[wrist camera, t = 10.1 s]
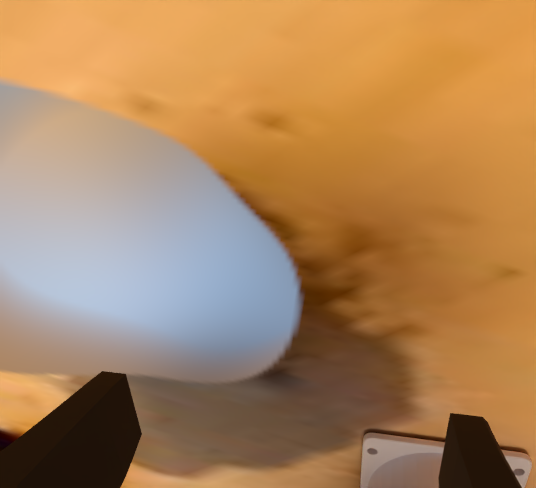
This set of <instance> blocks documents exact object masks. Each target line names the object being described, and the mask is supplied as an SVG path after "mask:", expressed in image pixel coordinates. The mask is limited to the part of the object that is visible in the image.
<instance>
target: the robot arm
mask: <svg viewBox="0 0 536 488" xmlns="http://www.w3.org/2000/svg"><path fill="white" fill-rule="evenodd" d="M141 435H142V433H141V429H140V426H139V422H138V418H137V414H136V411H135V407H134V403H133V399H132V396H131V392H130V388H129V384H128V381H127V377H126V374H121V373H113V372H104V371H102V372H101V373H99V374H98V375H97V376H96V377H94V378H93V379H92V380H90V381H89V382H88V383H87V384H85V385H84V386H83V387H82V388H80V389H79V390H78V391H77V392H76V393H74V394H73V395H72V396H71V397H69V398H68V399H67V400H66V401H65V402H63V403H62V404H61V405H60V406H58V407H57V408H56V409H55V410H53V411H52V412H51V413H50V414H48V415H47V416H46V417H45V418H43V419H42V420H41V421H40V422H38V423H37V424H36V425H35V426H33V427H32V428H31V429H30V430H28V431H27V432H26V433H25V434H23V435H22V436H21V437H19V438H18V439H17V440H16V441H14V442H13V443H12V444H10V445H9V446H8V447H6V448H5V449H3V450H2V451H1V452H0V488H120V487H121V485H122V483H123V481H124V479H125V477H126V474H127V472H128V469H129V467H130V464H131V462H132V459H133V456H134V454H135V451H136V448H137V445H138V443H139V440H140V437H141ZM531 468H532V462H531V459H530V457H529V455H527V454H525V453H522V452H515V451H507V450H501V449H500V447H499V445H498V443H497V441H496V439H495V437H494V435H493V433H492V431H491V429H490V426H489V424H488V422H487V421H486V420H485V419H484V418H483V417H478V416H470V415H462V414H453V413H450V418H449V423H448V429H447V434H446V439H445V442H440V441H432V440H424V439H417V438H409V437H402V436H394V435H387V434H379V433H367V434H365V435H364V437H363V448H362V464H361V480H360V488H525V486H526V483H527V480H528V477H529V474H530V471H531Z"/></svg>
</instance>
